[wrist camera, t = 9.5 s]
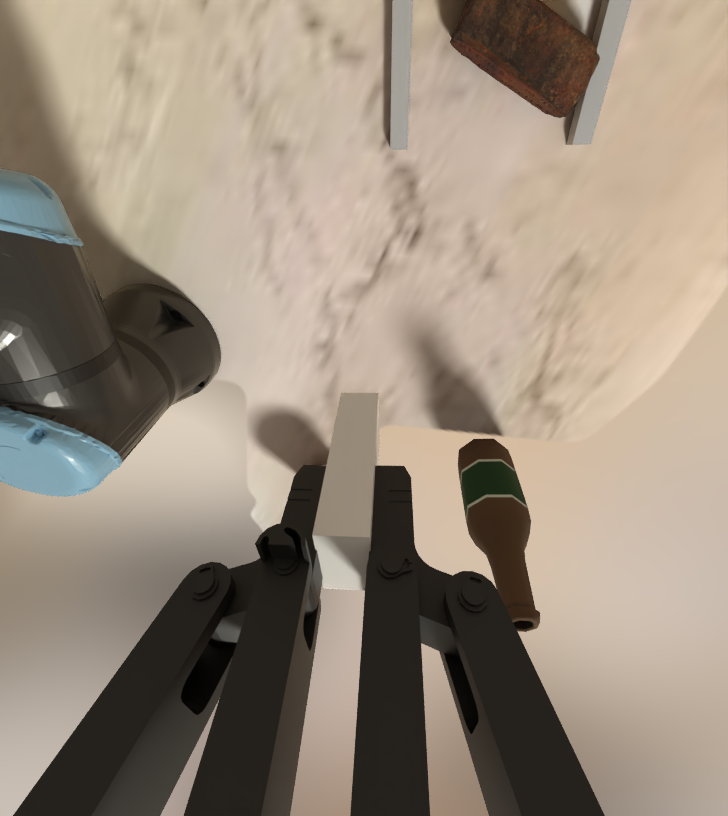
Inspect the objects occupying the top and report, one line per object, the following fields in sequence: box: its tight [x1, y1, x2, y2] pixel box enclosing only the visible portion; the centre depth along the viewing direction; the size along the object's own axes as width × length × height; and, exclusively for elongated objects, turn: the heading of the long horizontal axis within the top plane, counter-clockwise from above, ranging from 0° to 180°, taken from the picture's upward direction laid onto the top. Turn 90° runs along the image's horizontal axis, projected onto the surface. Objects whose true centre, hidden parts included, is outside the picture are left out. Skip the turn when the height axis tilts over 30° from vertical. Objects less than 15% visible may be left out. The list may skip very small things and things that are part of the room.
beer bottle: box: [458, 439, 540, 632], centre depth 45 cm, size 8×8×24 cm
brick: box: [450, 0, 600, 118], centre depth 27 cm, size 11×4×5 cm, turn 64°
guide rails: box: [390, 0, 631, 150], centre depth 29 cm, size 17×10×2 cm, turn 91°
